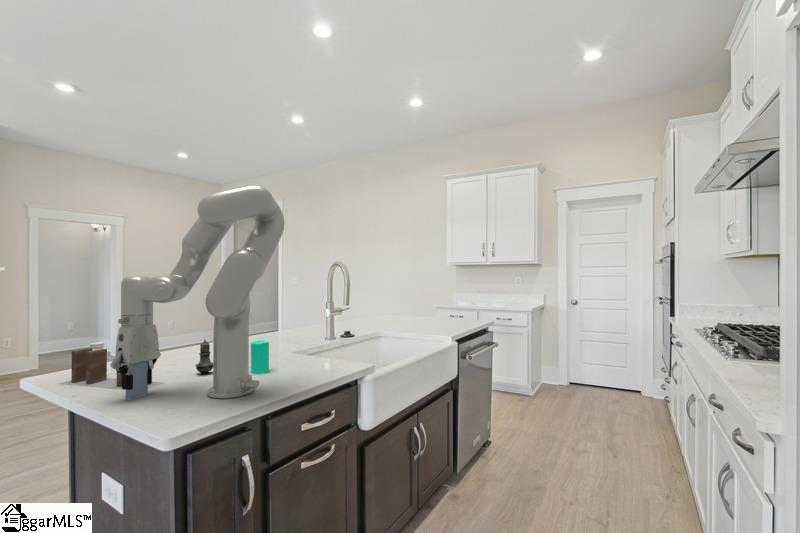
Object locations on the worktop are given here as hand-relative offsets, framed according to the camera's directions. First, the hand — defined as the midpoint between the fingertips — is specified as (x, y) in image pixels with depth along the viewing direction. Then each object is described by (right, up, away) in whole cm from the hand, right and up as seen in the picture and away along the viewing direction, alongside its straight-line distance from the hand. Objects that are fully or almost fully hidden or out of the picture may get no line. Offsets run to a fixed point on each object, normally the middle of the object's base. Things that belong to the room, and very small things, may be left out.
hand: (136, 385), depth 111 cm
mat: (-17, -4, +14) cm, 22 cm away
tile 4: (-23, -3, +15) cm, 28 cm away
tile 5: (-29, -3, +17) cm, 33 cm away
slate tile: (0, -4, 0) cm, 4 cm away
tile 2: (-11, -3, +12) cm, 17 cm away
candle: (+24, -4, +29) cm, 38 cm away
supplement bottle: (-34, -4, +29) cm, 45 cm away
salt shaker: (+7, -4, +25) cm, 26 cm away
